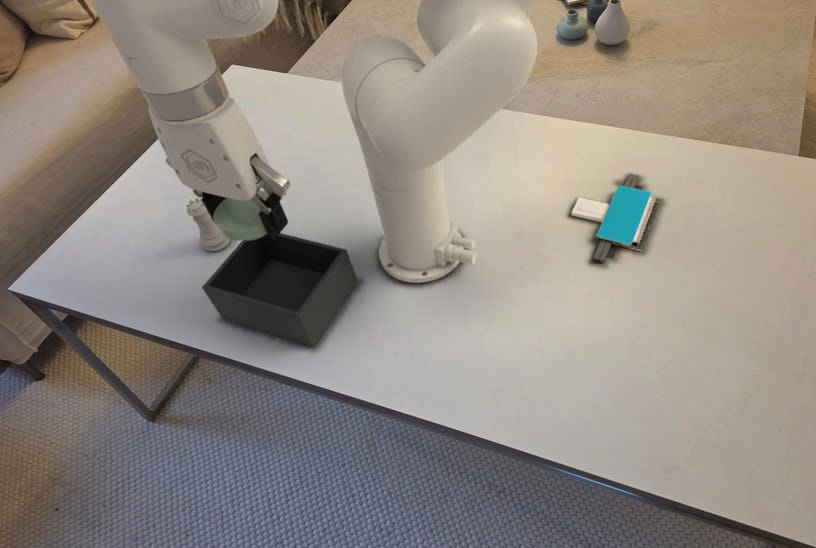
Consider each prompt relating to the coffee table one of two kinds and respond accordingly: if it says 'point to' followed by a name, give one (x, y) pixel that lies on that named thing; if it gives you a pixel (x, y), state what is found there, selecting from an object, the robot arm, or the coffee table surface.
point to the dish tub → (283, 286)
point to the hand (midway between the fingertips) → (251, 222)
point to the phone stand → (620, 218)
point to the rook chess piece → (206, 226)
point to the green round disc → (240, 219)
